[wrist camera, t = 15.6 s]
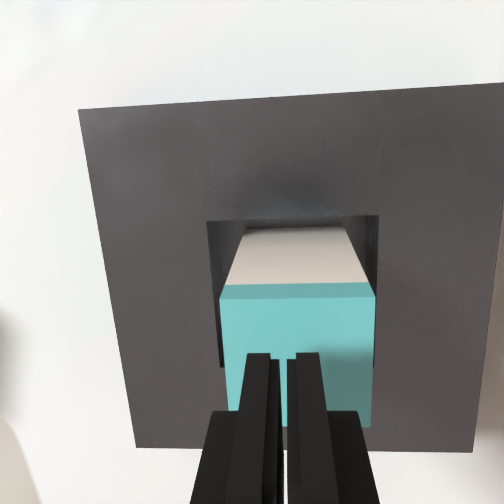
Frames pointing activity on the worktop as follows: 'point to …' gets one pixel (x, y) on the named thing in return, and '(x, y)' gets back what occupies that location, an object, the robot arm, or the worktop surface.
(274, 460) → the robot arm
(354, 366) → the plug
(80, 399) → the worktop surface
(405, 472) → the worktop surface
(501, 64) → the worktop surface
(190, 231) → the port panel
